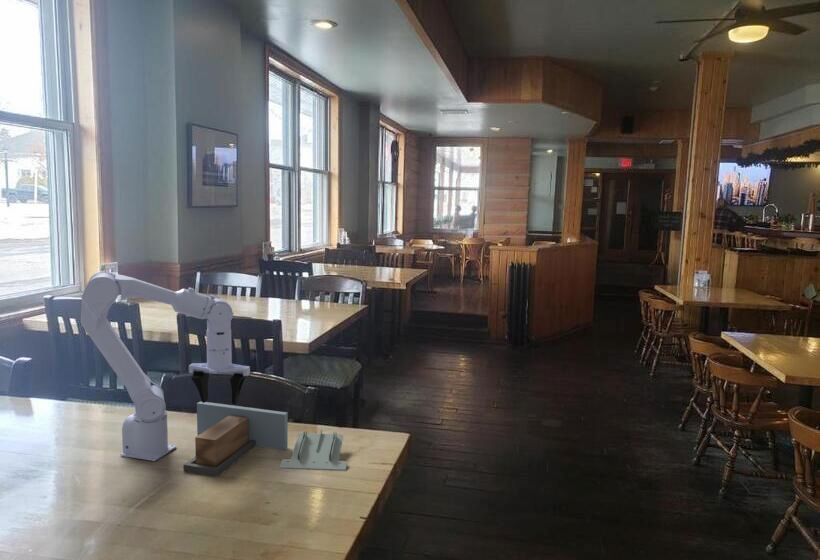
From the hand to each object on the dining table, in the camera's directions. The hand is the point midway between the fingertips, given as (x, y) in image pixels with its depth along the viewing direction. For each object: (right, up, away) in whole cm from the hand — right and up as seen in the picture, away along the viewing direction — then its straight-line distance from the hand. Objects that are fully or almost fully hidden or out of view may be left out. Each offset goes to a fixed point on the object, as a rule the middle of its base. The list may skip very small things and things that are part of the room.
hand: (219, 402), depth 141 cm
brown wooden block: (+3, -11, -6) cm, 13 cm away
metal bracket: (+25, -13, -5) cm, 28 cm away
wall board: (+3, -12, -7) cm, 13 cm away
